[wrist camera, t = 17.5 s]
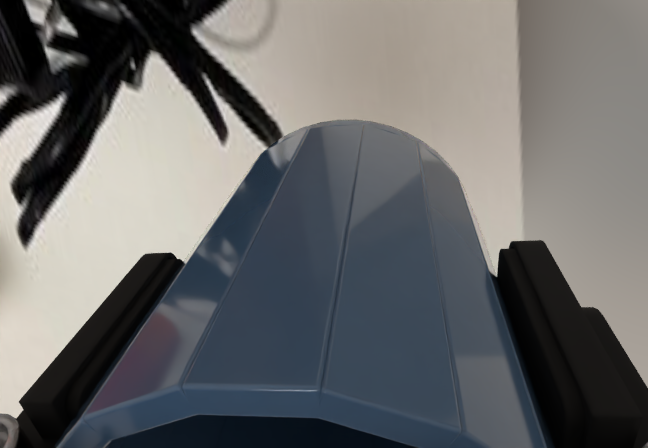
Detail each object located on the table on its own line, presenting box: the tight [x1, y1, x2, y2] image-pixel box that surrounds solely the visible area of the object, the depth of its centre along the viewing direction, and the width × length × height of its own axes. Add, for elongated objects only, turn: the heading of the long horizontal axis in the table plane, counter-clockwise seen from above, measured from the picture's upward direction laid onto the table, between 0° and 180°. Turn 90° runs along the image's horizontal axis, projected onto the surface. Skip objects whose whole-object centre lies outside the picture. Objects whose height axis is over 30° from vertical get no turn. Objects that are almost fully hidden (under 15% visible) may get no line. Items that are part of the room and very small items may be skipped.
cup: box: [53, 120, 557, 448], centre depth 9 cm, size 6×6×8 cm
